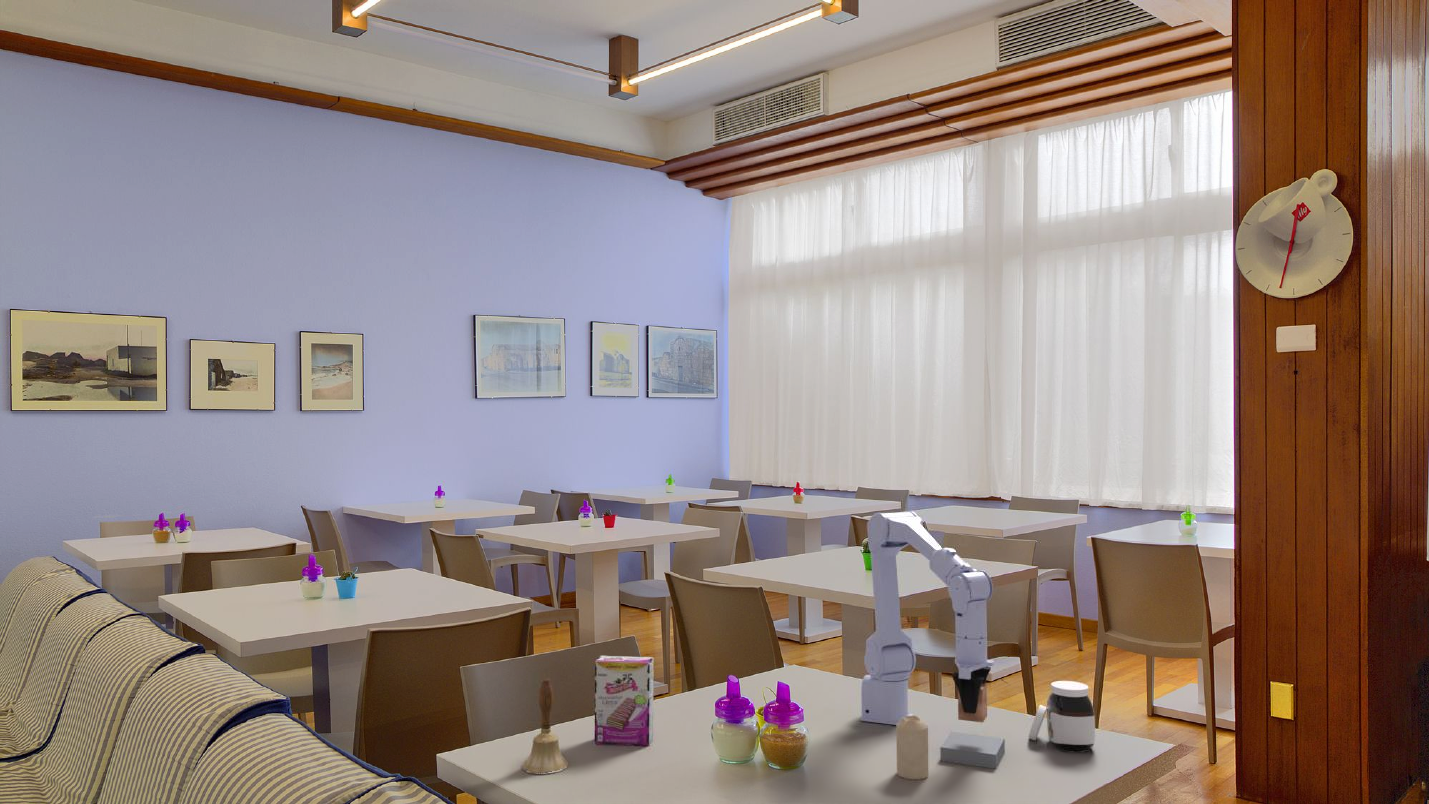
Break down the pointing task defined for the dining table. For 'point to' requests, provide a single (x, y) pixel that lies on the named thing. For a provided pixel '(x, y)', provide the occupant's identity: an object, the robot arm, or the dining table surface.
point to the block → (981, 707)
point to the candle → (912, 748)
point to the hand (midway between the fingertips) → (972, 709)
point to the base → (972, 749)
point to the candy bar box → (624, 700)
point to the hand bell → (545, 739)
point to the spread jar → (1067, 717)
